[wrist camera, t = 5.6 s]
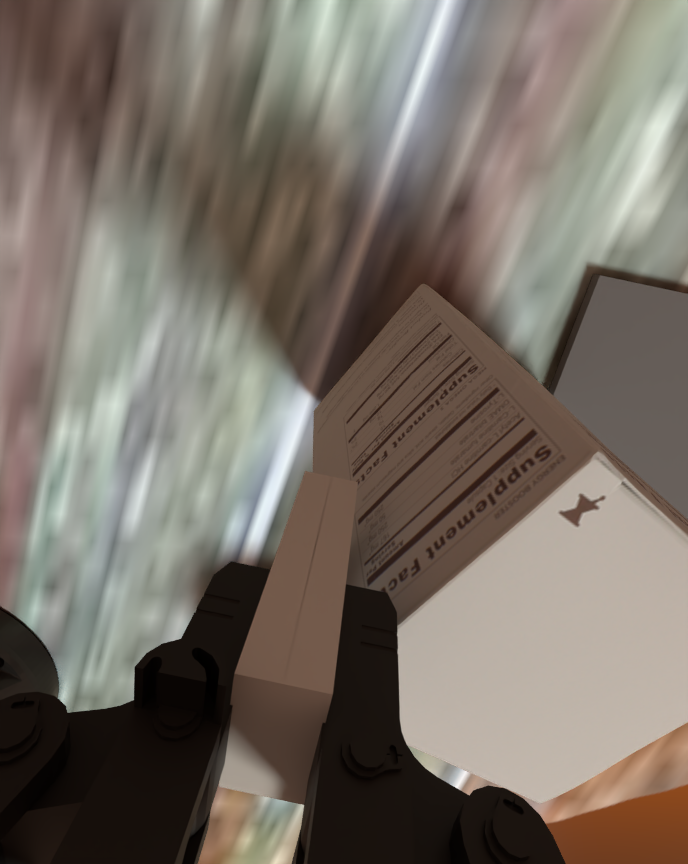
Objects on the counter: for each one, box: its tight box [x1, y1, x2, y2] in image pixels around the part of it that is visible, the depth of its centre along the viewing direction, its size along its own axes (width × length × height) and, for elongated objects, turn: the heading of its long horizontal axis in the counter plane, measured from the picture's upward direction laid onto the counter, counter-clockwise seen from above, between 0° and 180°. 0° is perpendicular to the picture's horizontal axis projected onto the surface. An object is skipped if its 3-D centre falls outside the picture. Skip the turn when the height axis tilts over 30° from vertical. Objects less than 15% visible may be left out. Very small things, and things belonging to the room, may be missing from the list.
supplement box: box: [313, 283, 688, 803], centre depth 19 cm, size 10×9×17 cm
